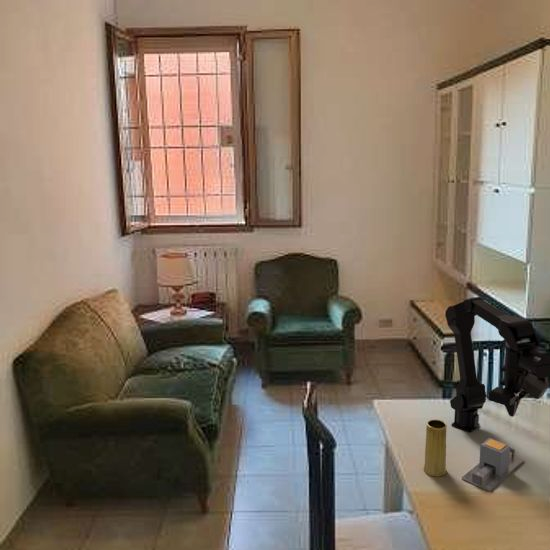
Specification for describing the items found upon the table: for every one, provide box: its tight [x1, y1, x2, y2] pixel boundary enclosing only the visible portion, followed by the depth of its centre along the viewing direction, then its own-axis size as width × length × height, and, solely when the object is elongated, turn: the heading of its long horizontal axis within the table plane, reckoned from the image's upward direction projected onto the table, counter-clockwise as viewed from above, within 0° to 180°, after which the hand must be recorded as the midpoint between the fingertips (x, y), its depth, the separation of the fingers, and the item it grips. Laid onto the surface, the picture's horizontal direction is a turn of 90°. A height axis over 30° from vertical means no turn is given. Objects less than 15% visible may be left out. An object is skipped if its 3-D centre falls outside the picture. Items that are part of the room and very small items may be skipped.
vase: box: [423, 419, 447, 477], centre depth 155 cm, size 6×6×14 cm
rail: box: [461, 447, 525, 493], centre depth 156 cm, size 8×20×3 cm, turn 133°
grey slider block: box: [478, 437, 511, 476], centre depth 155 cm, size 6×5×7 cm
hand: (511, 415), depth 159 cm, fingers closed
